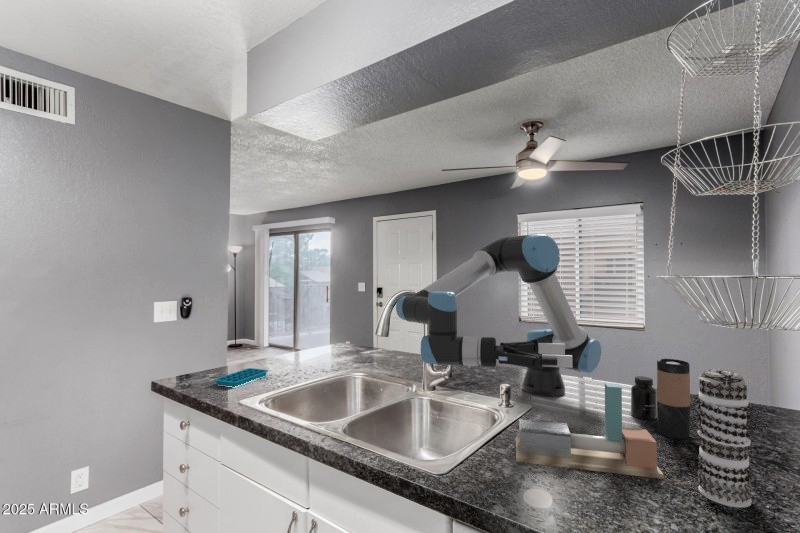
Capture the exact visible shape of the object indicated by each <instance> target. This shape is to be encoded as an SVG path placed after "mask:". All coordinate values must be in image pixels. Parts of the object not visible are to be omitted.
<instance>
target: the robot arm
mask: <svg viewBox="0 0 800 533" xmlns="http://www.w3.org/2000/svg"><path fill="white" fill-rule="evenodd" d="M559 248H560V247H559V246H558V244H557V243H556V241H555V240H554V239H553V238H552V237H551V236H549V235H547V234H544V233H530V234H526V235H524V234H522V235H513V236H510V235H509V236H504V237H501V238H498V239H496V240H494V241H492V242H490V243H488V244H486V245H485V246H483V247H481V248H480V249H478V250H477V251H475V252H474V253H473V254H472V258H470V259H467V261H465V262H464V263H462V264H460V265H459V266H457V267H456V268H454V269H453V270H451V271H450V272H447V273H446V274H444V275H442V276H441V277H440V278H439V279H437V280H435V281H433V282H432V283H431V284H429V285H428V286H425V287H424V288H423V289H421V290H419V291H418V292H416V293H414V294H413V295H410V294H409V295H408V294H407V295H403V296H400V297H399V299H398V300H397V301H396V305H395V312H396V315H397V316H398V317H399V318H400V319H401V320H403V321H406V322H410V323H415V324H416V323H418V324H422V325H428V334H427V335H423V337H421V340H420V358H421V360H422V362H424V363H425V364H430V365H431V364H432V365H437V366H443V365H444V366H465V367H466V366H467V368H469V369H471V368H472V367H479V366H481V367H484V368H495V367H496V366H497V360H498V364H500V365H502V364H503V365H511V366H518V367H524V368H526V371H525V374H524V377H523V380H522V388H521V389H522V391H524V392H525V393H527V394H530V395H534V396H539V397H548V398H551V397H552V398H553V397H561V396H564V395H565V394H566V387H565V384H564V380H563V378H562V374H561V372H560V371H561V370H560V368H561V369H567V370H570V371H576V372H579V373H587V374H590V373H592V372H594V371H595V370H596V369H597V368H598V365H599V364H600V361H601V356H602V346H601V342H599V340H597V339H595V338H590V337H589V334H588V332H587V330H586V329H585V328H583V327H582V326H579V324H578V322H577V319H576V317H575V315H574V313H573V311H572V309H571V306H570V304H569V302H568V299H567V297H566V295H565V292H564V290H563V289H562V286H561V283H560V282H559V280H558V276H557V275H556V272H557V270H558V266H559V264H560V259H561V257H560V256H559V255H560V254H561V253H560V249H559ZM504 272H516V273H517V272H518V275H519V277H520V279H521V281H522V282H523V283H525V284H529V286H530V288H531V290H532V293H533V294H534V297H535V299H536V301H537V303H538V305H539V308H540V310H541V311H542V313H543V315H544V317H545V319H546V322H547V324H548V326H549V328H544V329H543V328H542V329H531V330H529V331H528V332H527V333H526V334H527V335H526V340H525V341H516V342H515V341H514V342H500V343H499V345H497V340H496V338H495V337H492V336H489V337H488V336H487V337H486V336H483V337H481V338H480V337H479V336H458V305H457V297H458V296H459V295H460V294H462V293H464V292H465V291H467V290H468V289H470V288H471V287H473V286H474V285H476V284H477V283H479V282H480V281H482V279H484V278H492V277H493V276H495V275H496V274H499V273H504Z"/></svg>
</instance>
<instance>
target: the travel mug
mask: <svg viewBox="0 0 800 533" xmlns="http://www.w3.org/2000/svg"><path fill="white" fill-rule="evenodd" d="M690 376H691V375H690V363H689V362H688V361H685V360H681V359H674V358H673V359H672V358H661V359H660V360H656V391H657V422H658V423H657V426H658V427H657V428H658V429H657V430H658V432H659V433H660V434H661V435H663V436H666V437H668V438H672V439H673V438H674V439H685V440H686V439H688V438H690V434H691V432H690V431H691V430H690V429H691V380H690V379H691V378H690Z"/></svg>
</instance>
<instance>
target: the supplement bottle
mask: <svg viewBox="0 0 800 533" xmlns="http://www.w3.org/2000/svg"><path fill="white" fill-rule="evenodd" d="M653 386H654V380H653V377H648V376H639V375H638V376H634V385H632V386H631V389H630V414H631V416H633V417H634V418H636V419H639V420H643V421H644V420H646V421H655V420H656V419H657V418H658V409H657V389H656V388H655V387H653Z"/></svg>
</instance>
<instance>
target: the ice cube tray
mask: <svg viewBox="0 0 800 533" xmlns="http://www.w3.org/2000/svg"><path fill="white" fill-rule="evenodd" d="M269 371H270V370H268V369H263V368H262V369H260V368H251V367H248V368H245V369H243V370H242V369H241V370H239V371H235V372H232V373H229V374H227V375H223V376H219V377H216V378H214V379H213V381H215V382H216V385H217V384H219V385H226V386H232V387H235V386H238V385H241V384H244V383H246V382H249V381H251V380H254V379H256V378H260V377H263V376H266V377H267V373H268V372H269Z"/></svg>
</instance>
